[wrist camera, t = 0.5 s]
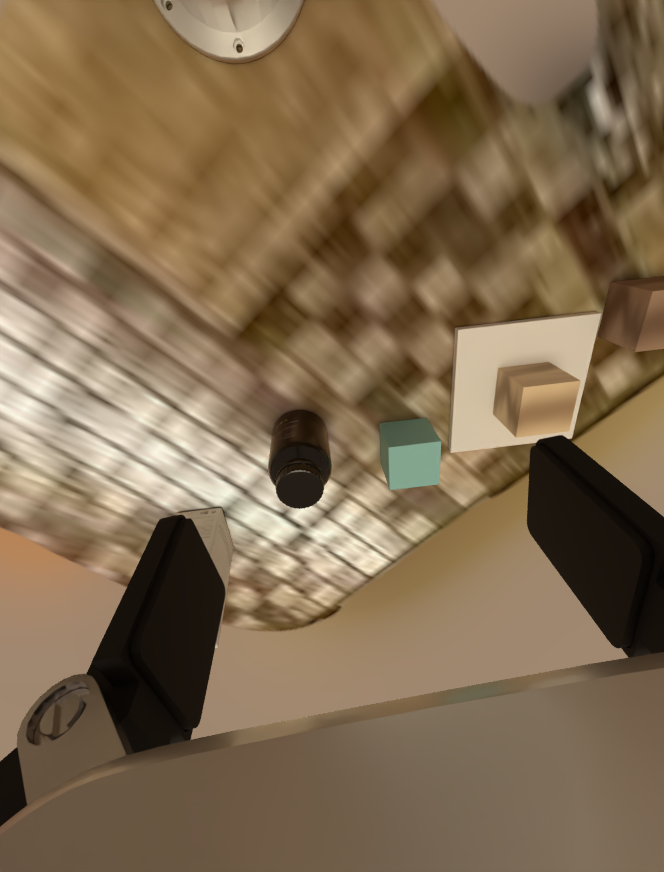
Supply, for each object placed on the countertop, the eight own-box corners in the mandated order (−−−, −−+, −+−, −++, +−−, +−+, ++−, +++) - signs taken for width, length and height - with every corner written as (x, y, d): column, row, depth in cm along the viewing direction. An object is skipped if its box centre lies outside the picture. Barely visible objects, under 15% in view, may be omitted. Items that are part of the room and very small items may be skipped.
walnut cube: (609, 282, 43) (652, 291, 38) (663, 276, 43) (713, 284, 38) (597, 336, 46) (634, 351, 41) (647, 330, 46) (691, 345, 41)
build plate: (455, 327, 44) (458, 329, 43) (595, 311, 45) (601, 313, 44) (448, 448, 52) (450, 452, 51) (567, 434, 52) (571, 438, 52)
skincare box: (176, 510, 54) (135, 610, 40) (225, 505, 54) (200, 602, 40) (192, 554, 58) (160, 658, 44) (237, 549, 58) (218, 651, 45)
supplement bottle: (338, 435, 50) (348, 493, 40) (297, 465, 52) (297, 528, 41) (302, 397, 47) (303, 449, 37) (260, 430, 49) (250, 489, 38)
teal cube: (379, 423, 50) (388, 447, 44) (426, 417, 50) (441, 441, 45) (380, 462, 53) (389, 490, 47) (425, 457, 53) (439, 484, 47)
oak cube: (498, 367, 46) (523, 387, 41) (548, 361, 46) (580, 380, 41) (492, 413, 49) (515, 437, 44) (540, 408, 49) (569, 431, 44)
